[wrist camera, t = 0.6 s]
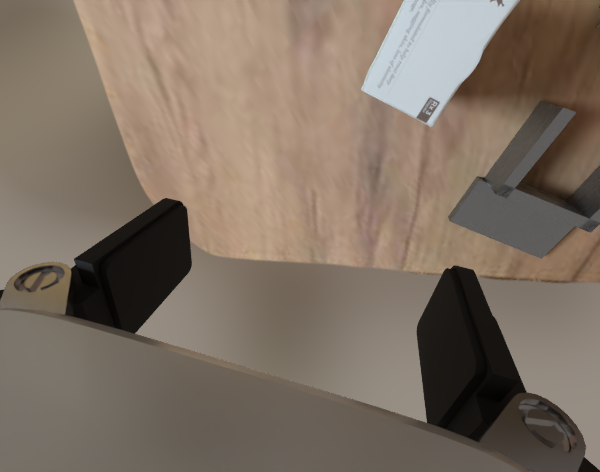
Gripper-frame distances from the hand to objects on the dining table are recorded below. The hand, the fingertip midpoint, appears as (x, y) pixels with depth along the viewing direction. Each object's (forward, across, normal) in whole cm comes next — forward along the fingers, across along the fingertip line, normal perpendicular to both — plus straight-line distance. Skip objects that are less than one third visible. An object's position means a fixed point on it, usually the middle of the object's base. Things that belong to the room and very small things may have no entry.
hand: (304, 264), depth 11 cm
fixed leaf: (+29, -21, +4) cm, 36 cm away
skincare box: (+29, -4, -8) cm, 30 cm away
